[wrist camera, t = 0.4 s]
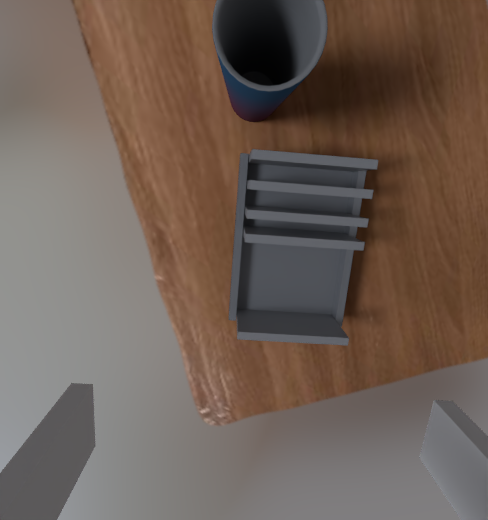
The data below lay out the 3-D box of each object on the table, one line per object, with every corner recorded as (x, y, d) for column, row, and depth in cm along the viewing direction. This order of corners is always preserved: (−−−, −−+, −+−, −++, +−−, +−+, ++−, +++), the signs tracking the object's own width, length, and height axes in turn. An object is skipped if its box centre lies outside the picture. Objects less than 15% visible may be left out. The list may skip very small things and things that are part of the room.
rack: (240, 155, 35) (241, 148, 28) (357, 165, 35) (388, 160, 28) (229, 310, 39) (228, 338, 32) (334, 317, 39) (356, 345, 32)
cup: (296, 77, 33) (347, -8, 19) (270, 141, 34) (298, 110, 20) (235, 48, 32) (238, -64, 18) (211, 115, 34) (195, 62, 19)
